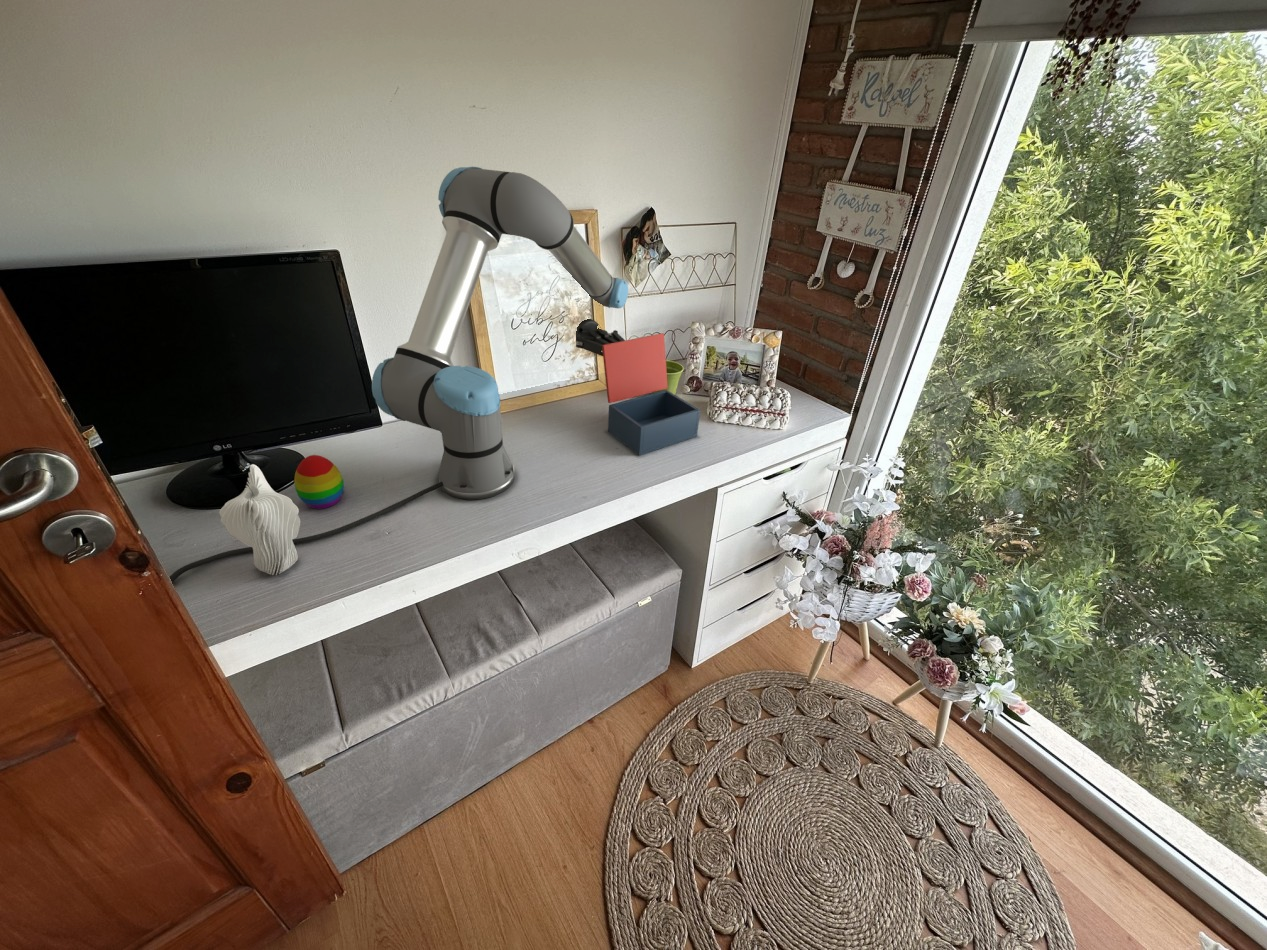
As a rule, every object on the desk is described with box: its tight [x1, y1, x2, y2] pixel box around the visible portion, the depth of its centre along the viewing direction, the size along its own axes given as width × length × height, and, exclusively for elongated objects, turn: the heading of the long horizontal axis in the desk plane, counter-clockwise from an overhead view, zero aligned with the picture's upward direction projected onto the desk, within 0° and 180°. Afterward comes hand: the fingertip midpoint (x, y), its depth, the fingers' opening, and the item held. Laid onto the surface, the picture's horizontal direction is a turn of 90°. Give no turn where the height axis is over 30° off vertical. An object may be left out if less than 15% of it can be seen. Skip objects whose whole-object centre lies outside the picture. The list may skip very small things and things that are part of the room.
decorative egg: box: [293, 454, 345, 510], centre depth 110 cm, size 8×8×10 cm
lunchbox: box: [607, 390, 701, 456], centre depth 140 cm, size 13×18×7 cm
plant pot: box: [652, 359, 685, 395], centre depth 159 cm, size 9×9×9 cm
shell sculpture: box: [218, 463, 301, 576], centre depth 92 cm, size 8×8×18 cm
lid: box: [602, 332, 668, 404], centre depth 140 cm, size 14×18×1 cm
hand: (633, 359), depth 140 cm, fingers closed
